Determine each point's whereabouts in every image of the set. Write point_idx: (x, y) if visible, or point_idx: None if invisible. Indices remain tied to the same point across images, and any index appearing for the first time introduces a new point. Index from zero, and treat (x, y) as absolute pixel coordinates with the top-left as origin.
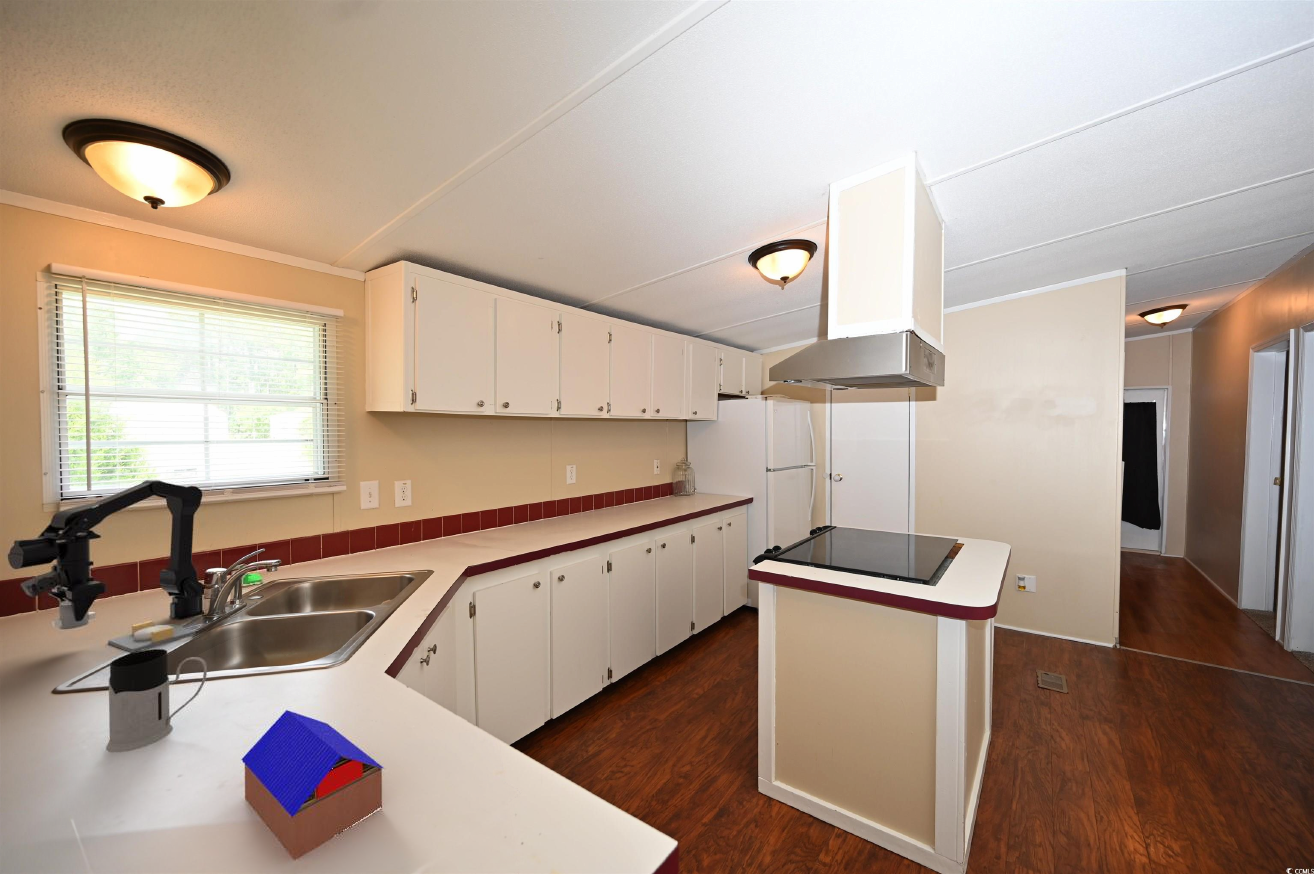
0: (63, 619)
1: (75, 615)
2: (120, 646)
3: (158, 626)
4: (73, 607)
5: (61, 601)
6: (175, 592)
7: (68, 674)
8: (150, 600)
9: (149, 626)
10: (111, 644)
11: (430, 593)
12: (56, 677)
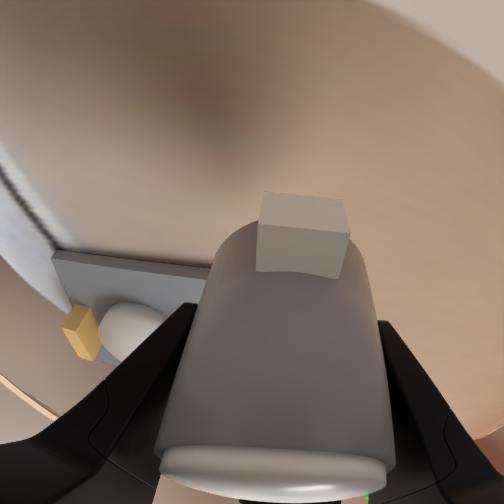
0: (239, 282)
1: (145, 339)
2: (124, 264)
3: None
4: (90, 406)
5: (432, 466)
6: None
7: (4, 96)
8: (486, 409)
9: None
10: (201, 270)
11: None
12: (5, 69)
